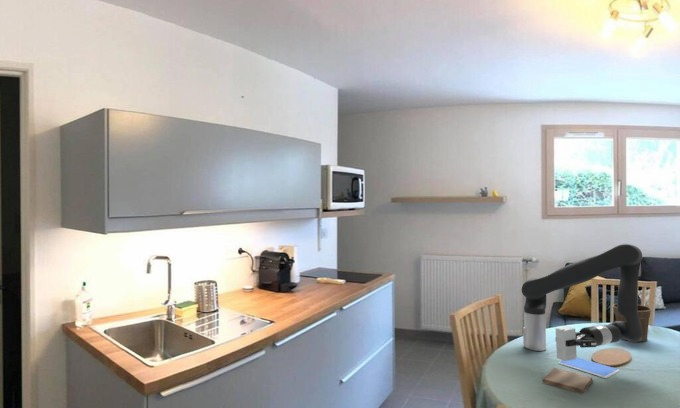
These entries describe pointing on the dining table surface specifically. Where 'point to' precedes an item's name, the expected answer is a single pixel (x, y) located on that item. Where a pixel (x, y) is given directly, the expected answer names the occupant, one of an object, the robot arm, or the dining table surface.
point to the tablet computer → (590, 367)
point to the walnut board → (568, 380)
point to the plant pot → (643, 316)
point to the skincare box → (562, 349)
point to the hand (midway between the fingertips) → (561, 341)
